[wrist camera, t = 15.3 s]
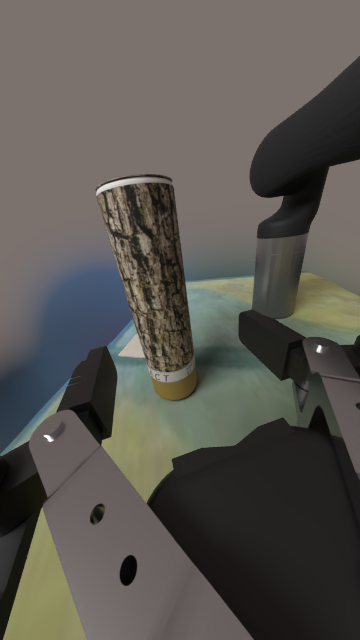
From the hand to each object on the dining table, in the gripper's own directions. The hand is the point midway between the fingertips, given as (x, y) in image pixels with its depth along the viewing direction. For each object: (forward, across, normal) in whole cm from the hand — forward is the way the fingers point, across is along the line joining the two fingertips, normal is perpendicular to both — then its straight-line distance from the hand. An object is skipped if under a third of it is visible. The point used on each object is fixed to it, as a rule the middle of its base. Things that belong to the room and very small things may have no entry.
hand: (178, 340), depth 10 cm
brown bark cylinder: (+11, 0, +16) cm, 19 cm away
